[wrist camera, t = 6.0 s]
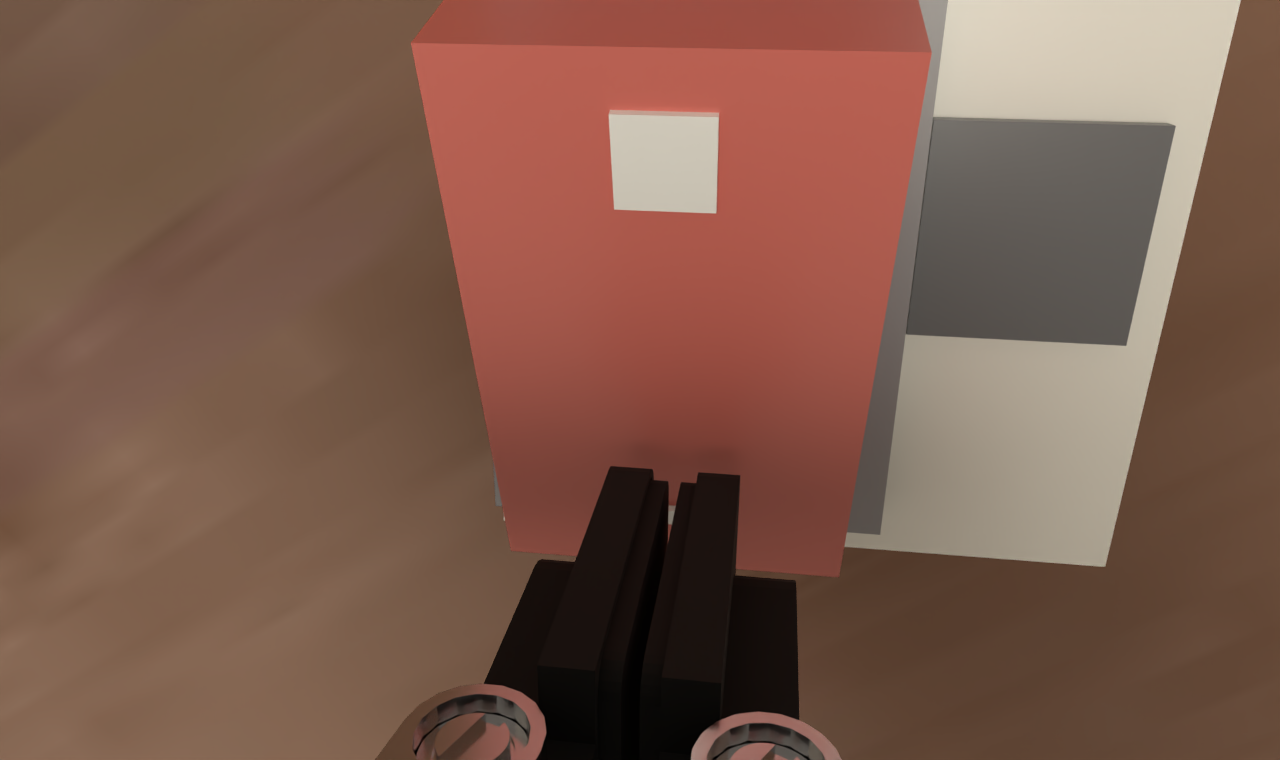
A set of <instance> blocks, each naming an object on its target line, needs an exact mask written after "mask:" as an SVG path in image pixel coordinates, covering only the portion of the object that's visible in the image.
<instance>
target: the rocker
mask: <svg viewBox="0 0 1280 760" xmlns="http://www.w3.org/2000/svg"><path fill="white" fill-rule="evenodd" d="M411 45H412V50H413V56H414V61H415V66H416V71H417V76H418V81H419V86H420V91H421V96H422V101H423V106H424V111H425V116H426V122H427V127H428V132H429V137H430V142H431V147H432V152H433V157H434V162H435V167H436V172H437V177H438V182H439V187H440V193H441V198H442V203H443V208H444V213H445V218H446V223H447V228H448V233H449V238H450V243H451V248H452V253H453V259H454V264H455V269H456V274H457V279H458V284H459V289H460V294H461V299H462V304H463V309H464V314H465V319H466V325H467V330H468V335H469V340H470V345H471V350H472V355H473V360H474V365H475V370H476V375H477V380H478V385H479V390H480V396H481V401H482V406H483V411H484V416H485V421H486V426H487V431H488V436H489V441H490V446H491V451H492V456H493V462H494V467H495V472H496V477H497V482H498V487H499V492H500V497H501V502H502V507H503V512H504V517H505V522H506V528H507V533H508V538H509V543H510V548H511V551H519V552H531V553H543V554H556V555H568V556H577V555H578V552H579V549H580V547H581V544H582V541H583V538H584V536H585V533H586V530H587V528H588V525H589V522H590V519H591V517H592V514H593V511H594V508H595V506H596V503H597V500H598V498H599V495H600V492H601V489H602V487H603V484H604V481H605V478H606V476H607V473H608V470H609V468H610V466H617V467H632V468H646V469H653V473H654V480H660V481H668V484H669V507H668V541H669V536H670V531H671V526H672V521H673V517H674V512H675V507H676V502H677V498H678V493H679V488H680V484H681V482H688V483H696V481H697V475H698V472H703V473H717V474H731V475H740V495H739V515H738V534H737V554H736V569H741V570H754V571H766V572H779V573H791V574H803V575H816V576H828V577H839V574H840V568H841V563H842V557H843V551H844V546H845V540H846V534H847V529H848V523H849V517H850V512H851V506H852V500H853V495H854V489H855V484H856V478H857V472H858V467H859V461H860V455H861V450H862V444H863V438H864V433H865V427H866V421H867V416H868V410H869V404H870V399H871V393H872V388H873V382H874V376H875V371H876V365H877V359H878V354H879V348H880V342H881V337H882V331H883V325H884V320H885V314H886V309H887V303H888V297H889V292H890V286H891V280H892V275H893V269H894V263H895V258H896V252H897V246H898V241H899V235H900V229H901V224H902V218H903V213H904V207H905V201H906V196H907V190H908V184H909V179H910V173H911V167H912V162H913V156H914V150H915V145H916V139H917V134H918V128H919V122H920V117H921V111H922V105H923V100H924V94H925V88H926V83H927V77H928V71H929V66H930V60H931V55H932V51H931V47H930V43H929V39H928V36H927V32H926V28H925V24H924V20H923V16H922V12H921V8H920V4H919V1H918V0H443V2H442V3H441V4H440V5H439V7H438V8H437V9H436V11H435V12H434V13H433V15H432V16H431V17H430V19H429V20H428V21H427V23H426V24H425V25H424V27H423V28H422V29H421V31H420V32H419V33H418V35H417V36H416V37H415V38H414V40H413V41H412V42H411Z"/></svg>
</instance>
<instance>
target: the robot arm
mask: <svg viewBox="0 0 1280 760" xmlns="http://www.w3.org/2000/svg"><path fill="white" fill-rule="evenodd" d="M739 495H740V475H731V474H717V473H703V472H698V475H697V481H696V483H688V482H681V484H680V488H679V493H678V498H677V502H676V507H675V512H674V517H673V521H672V526H671V531H670V536H669V541H668V507H669V484H668V481H660V480H654V473H653V469H646V468H632V467H617V466H610V468H609V470H608V473H607V476H606V478H605V481H604V484H603V487H602V489H601V492H600V495H599V498H598V500H597V503H596V506H595V508H594V511H593V514H592V517H591V519H590V522H589V525H588V528H587V530H586V533H585V536H584V538H583V541H582V544H581V547H580V549H579V552H578V555H577V558H576V560H575V562H567V561H555V560H543V559H541V560H539V561H538V562H537V564H536V565H535V567H534V569H533V572H532V574H531V576H530V578H529V581H528V583H527V585H526V588H525V590H524V592H523V595H522V597H521V599H520V602H519V604H518V606H517V608H516V611H515V613H514V615H513V618H512V620H511V622H510V625H509V627H508V629H507V631H506V634H505V636H504V638H503V641H502V643H501V645H500V648H499V650H498V652H497V655H496V657H495V659H494V661H493V664H492V666H491V668H490V671H489V673H488V675H487V678H486V680H485V682H484V684H475V685H466V686H459V687H456V688H453V689H450V690H447V691H444V692H441V693H438V694H436V695H435V696H433V697H431V698H430V699H428V700H426V701H425V702H423V703H421V704H420V705H419V706H418V707H417V708H416V709H415V710H414V711H413V712H412V713H411V714H410V715H409V716H408V717H407V718H406V719H405V720H404V721H403V723H402V724H401V725H400V727H399V728H398V729H397V731H396V732H395V733H394V735H393V736H392V738H391V739H390V740H389V742H388V743H387V744H386V746H385V747H384V748H383V750H382V751H381V752H380V754H379V755H378V756H377V758H376V759H375V760H841V758H840V756H839V754H838V751H837V749H836V748H835V747H834V746H833V745H832V744H831V743H830V742H829V740H828V739H827V738H826V737H825V736H824V735H823V734H822V733H821V732H819V731H817V730H816V729H814V728H812V727H811V726H809V725H807V724H806V723H804V722H802V721H800V720H799V691H798V645H797V599H796V581H794V580H782V579H770V578H758V577H746V576H735V573H736V554H737V534H738V515H739Z"/></svg>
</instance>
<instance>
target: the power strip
mask: <svg viewBox="0 0 1280 760" xmlns="http://www.w3.org/2000/svg"><path fill="white" fill-rule="evenodd" d="M918 1H919V4H920V8H921V12H922V16H923V20H924V24H925V28H926V32H927V36H928V39H929V43H930V47H931V51H932V55H931V60H930V66H929V71H928V77H927V83H926V88H925V94H924V100H923V105H922V111H921V117H920V122H919V128H918V134H917V139H916V145H915V150H914V156H913V162H912V167H911V173H910V179H909V184H908V190H907V196H906V201H905V207H904V213H903V218H902V224H901V229H900V235H899V241H898V246H897V252H896V258H895V263H894V269H893V275H892V280H891V286H890V292H889V297H888V303H887V309H886V314H885V320H884V325H883V331H882V337H881V342H880V348H879V354H878V359H877V365H876V371H875V376H874V382H873V388H872V393H871V399H870V404H869V410H868V416H867V421H866V427H865V433H864V438H863V444H862V450H861V455H860V461H859V467H858V472H857V478H856V484H855V489H854V495H853V500H852V506H851V512H850V517H849V523H848V529H847V534H846V540H845V546H844V547H854V548H867V549H880V550H893V551H906V552H919V553H932V554H945V555H958V556H971V557H984V558H997V559H1010V560H1022V561H1035V562H1048V563H1061V564H1074V565H1087V566H1100V567H1105V565H1106V561H1107V557H1108V552H1109V548H1110V544H1111V540H1112V536H1113V532H1114V527H1115V523H1116V519H1117V515H1118V511H1119V506H1120V502H1121V498H1122V494H1123V490H1124V486H1125V481H1126V477H1127V473H1128V469H1129V465H1130V461H1131V456H1132V452H1133V448H1134V444H1135V440H1136V435H1137V431H1138V427H1139V423H1140V419H1141V415H1142V410H1143V406H1144V402H1145V398H1146V394H1147V390H1148V385H1149V381H1150V377H1151V373H1152V369H1153V365H1154V360H1155V356H1156V352H1157V348H1158V344H1159V339H1160V335H1161V331H1162V327H1163V323H1164V319H1165V314H1166V310H1167V306H1168V302H1169V298H1170V294H1171V289H1172V285H1173V281H1174V277H1175V273H1176V269H1177V264H1178V260H1179V256H1180V252H1181V248H1182V243H1183V239H1184V235H1185V231H1186V227H1187V223H1188V218H1189V214H1190V210H1191V206H1192V202H1193V198H1194V193H1195V189H1196V185H1197V181H1198V177H1199V173H1200V168H1201V164H1202V160H1203V156H1204V152H1205V147H1206V143H1207V139H1208V135H1209V131H1210V127H1211V122H1212V118H1213V114H1214V110H1215V106H1216V102H1217V97H1218V93H1219V89H1220V85H1221V81H1222V77H1223V72H1224V68H1225V64H1226V60H1227V56H1228V51H1229V47H1230V43H1231V39H1232V35H1233V31H1234V26H1235V22H1236V18H1237V14H1238V10H1239V6H1240V1H1241V0H918ZM493 467H494V462H493ZM494 484H495V501H496V506H502V502H501V497H500V492H499V487H498V482H497V477H496V472H495V467H494ZM503 513H504V512H503ZM504 521H505V517H504Z"/></svg>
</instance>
